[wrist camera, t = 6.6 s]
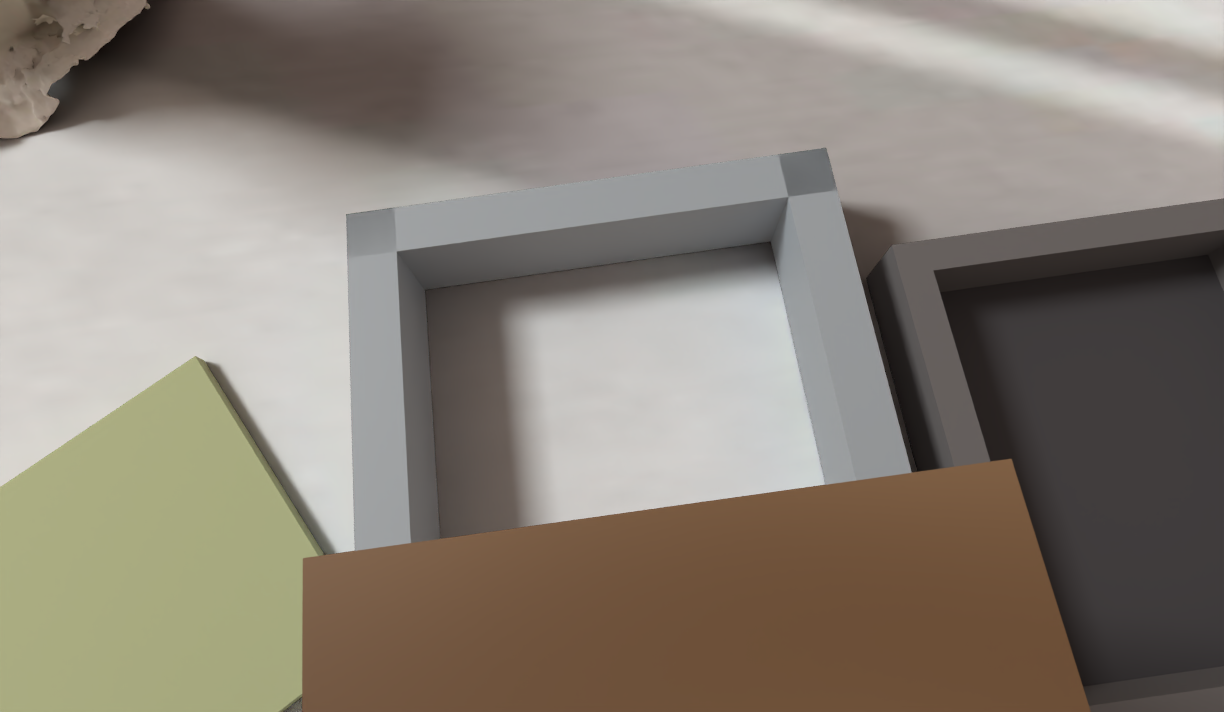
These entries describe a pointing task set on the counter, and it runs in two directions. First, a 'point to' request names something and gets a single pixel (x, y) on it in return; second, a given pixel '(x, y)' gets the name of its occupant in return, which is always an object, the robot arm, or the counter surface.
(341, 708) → the walnut block
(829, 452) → the channel
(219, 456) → the mat
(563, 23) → the counter surface
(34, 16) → the mushroom
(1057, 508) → the tray
